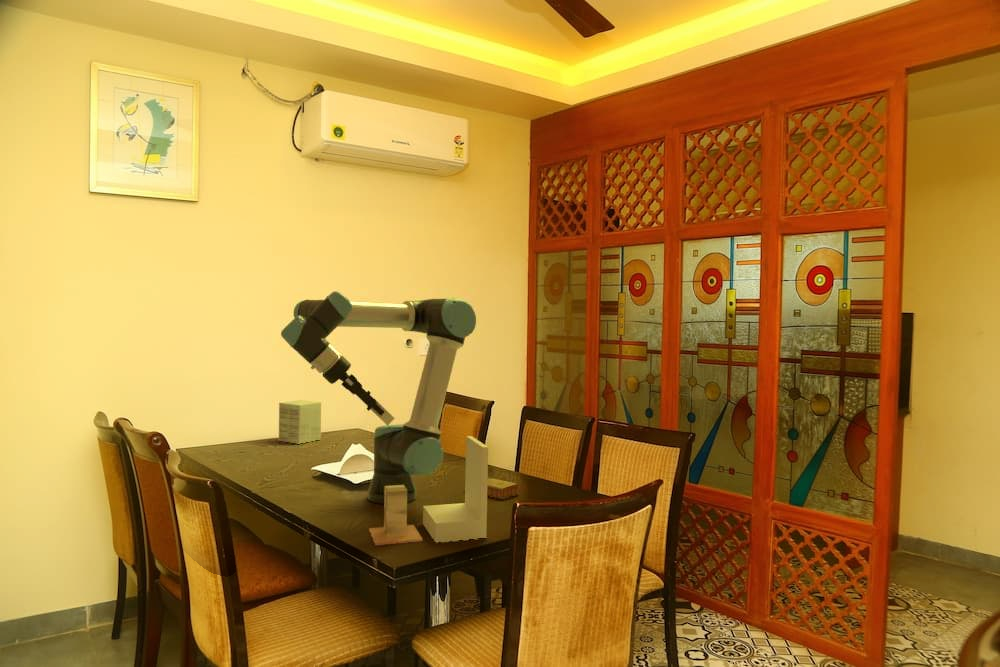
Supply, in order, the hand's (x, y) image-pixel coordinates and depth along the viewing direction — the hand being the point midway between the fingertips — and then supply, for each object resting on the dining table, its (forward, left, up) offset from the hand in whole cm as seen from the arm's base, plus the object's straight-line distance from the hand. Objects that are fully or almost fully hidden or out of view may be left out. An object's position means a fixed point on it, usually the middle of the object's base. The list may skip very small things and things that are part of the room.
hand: (387, 417), depth 185 cm
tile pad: (+12, +1, -29) cm, 31 cm away
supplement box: (-126, -19, -29) cm, 131 cm away
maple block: (+12, +1, -29) cm, 31 cm away
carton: (-23, +38, -30) cm, 53 cm away
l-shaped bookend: (+12, +17, -29) cm, 36 cm away
